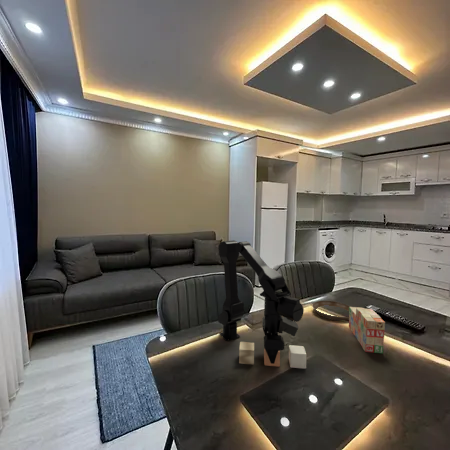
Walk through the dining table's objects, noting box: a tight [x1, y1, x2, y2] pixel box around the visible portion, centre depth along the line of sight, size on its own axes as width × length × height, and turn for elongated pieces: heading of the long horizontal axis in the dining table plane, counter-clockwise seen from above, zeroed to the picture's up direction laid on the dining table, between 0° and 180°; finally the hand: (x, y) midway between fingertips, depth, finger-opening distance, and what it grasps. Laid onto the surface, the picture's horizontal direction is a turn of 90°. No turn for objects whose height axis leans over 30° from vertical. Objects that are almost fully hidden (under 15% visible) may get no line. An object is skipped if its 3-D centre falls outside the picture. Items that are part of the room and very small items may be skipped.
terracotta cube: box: [263, 347, 281, 367], centre depth 87 cm, size 5×5×5 cm
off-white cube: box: [288, 344, 307, 369], centre depth 86 cm, size 5×5×5 cm
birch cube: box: [238, 341, 255, 366], centre depth 88 cm, size 5×5×5 cm
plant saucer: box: [311, 300, 352, 321], centre depth 129 cm, size 21×21×3 cm
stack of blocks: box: [348, 306, 386, 354], centre depth 104 cm, size 21×6×12 cm, turn 170°
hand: (271, 355), depth 87 cm, fingers open, 9 cm apart
